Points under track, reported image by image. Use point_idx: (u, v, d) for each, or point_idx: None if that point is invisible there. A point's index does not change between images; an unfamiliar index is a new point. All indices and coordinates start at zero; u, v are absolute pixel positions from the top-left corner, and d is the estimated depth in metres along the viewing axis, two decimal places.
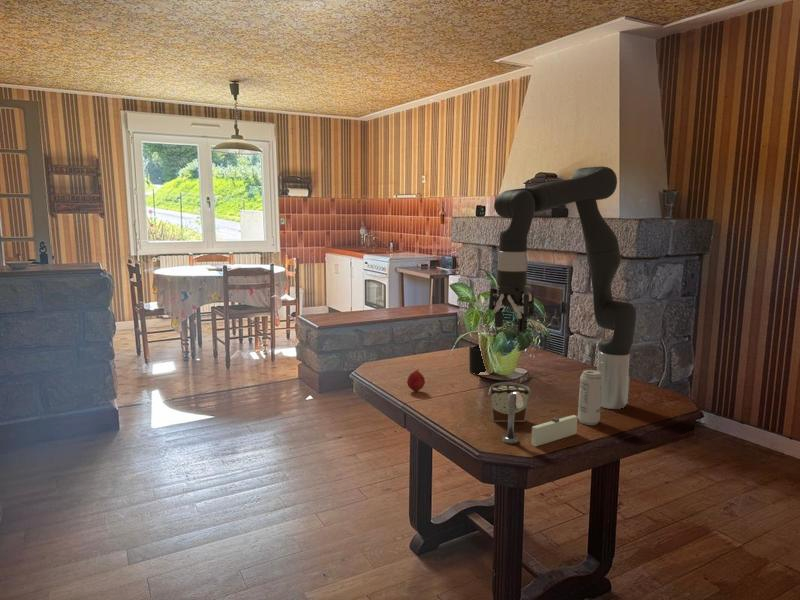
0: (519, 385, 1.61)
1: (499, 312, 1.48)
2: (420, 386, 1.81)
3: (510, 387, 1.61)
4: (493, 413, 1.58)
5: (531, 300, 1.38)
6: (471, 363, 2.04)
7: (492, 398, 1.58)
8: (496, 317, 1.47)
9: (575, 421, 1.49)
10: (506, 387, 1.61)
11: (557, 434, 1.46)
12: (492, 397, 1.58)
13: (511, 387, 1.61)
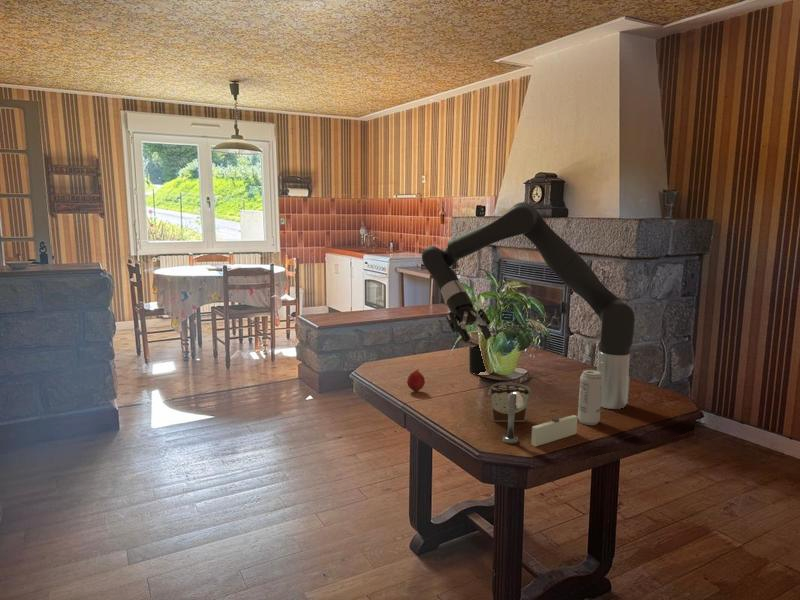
0: (519, 385, 1.61)
1: (482, 328, 1.73)
2: (420, 386, 1.81)
3: (510, 387, 1.61)
4: (493, 413, 1.58)
5: (450, 317, 1.69)
6: (471, 363, 2.04)
7: (492, 398, 1.58)
8: None
9: (575, 421, 1.49)
10: (506, 387, 1.61)
11: (557, 434, 1.46)
12: (492, 397, 1.58)
13: (511, 387, 1.61)
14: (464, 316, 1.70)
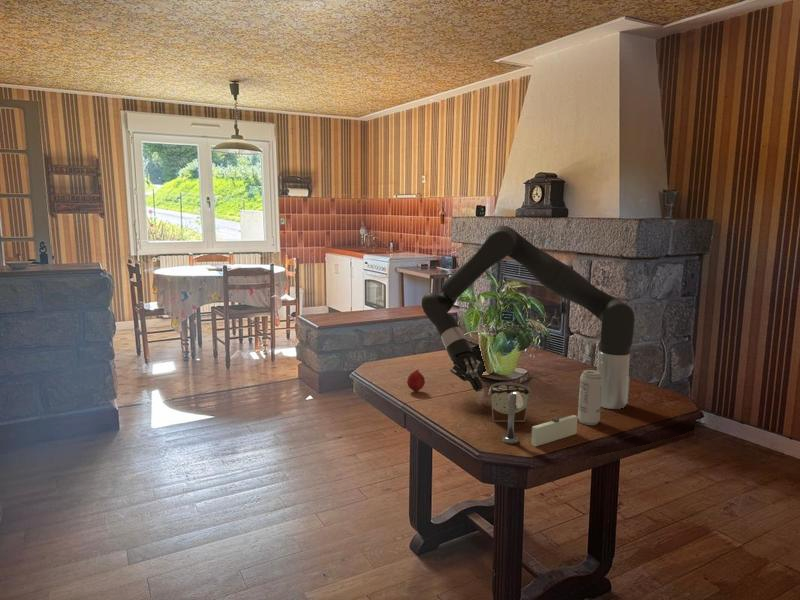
0: (519, 385, 1.61)
1: None
2: (420, 386, 1.81)
3: (510, 387, 1.61)
4: (493, 413, 1.58)
5: (456, 371, 1.72)
6: None
7: (492, 398, 1.58)
8: None
9: (575, 421, 1.49)
10: (506, 387, 1.61)
11: (557, 434, 1.46)
12: (492, 397, 1.58)
13: (511, 387, 1.61)
14: (467, 364, 1.73)
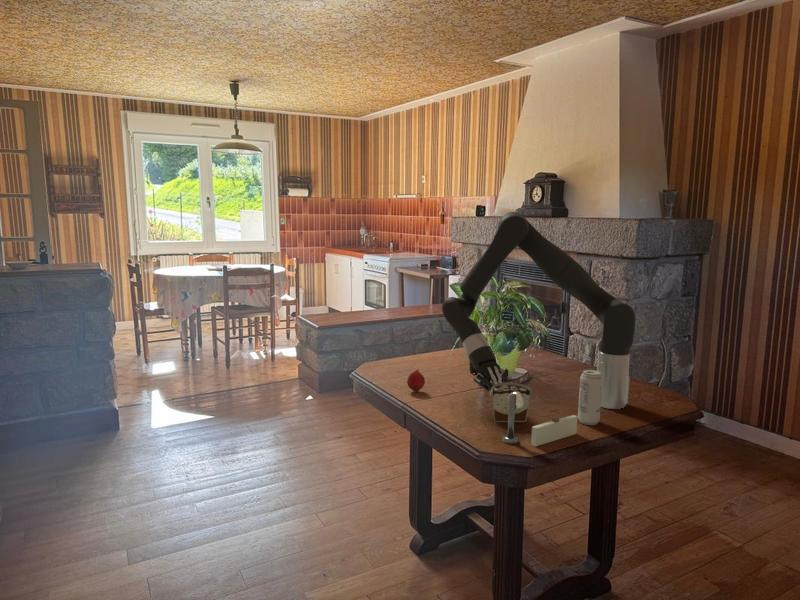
0: (520, 385, 1.60)
1: None
2: (420, 386, 1.81)
3: (511, 387, 1.60)
4: (494, 414, 1.58)
5: (480, 380, 1.63)
6: (471, 363, 2.04)
7: (493, 399, 1.57)
8: None
9: (575, 421, 1.49)
10: (507, 387, 1.60)
11: (557, 434, 1.46)
12: (493, 398, 1.57)
13: (512, 387, 1.60)
14: (491, 373, 1.64)
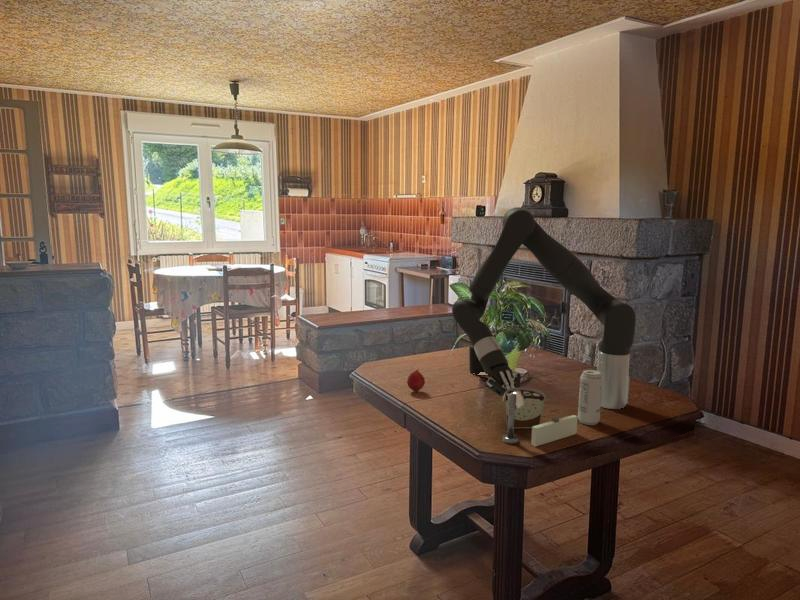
0: (534, 390, 1.56)
1: None
2: (420, 386, 1.81)
3: (524, 393, 1.55)
4: (507, 420, 1.53)
5: (492, 385, 1.58)
6: (471, 363, 2.04)
7: (506, 404, 1.52)
8: None
9: (575, 421, 1.49)
10: None
11: (557, 434, 1.46)
12: (506, 403, 1.52)
13: (526, 392, 1.55)
14: (503, 378, 1.60)
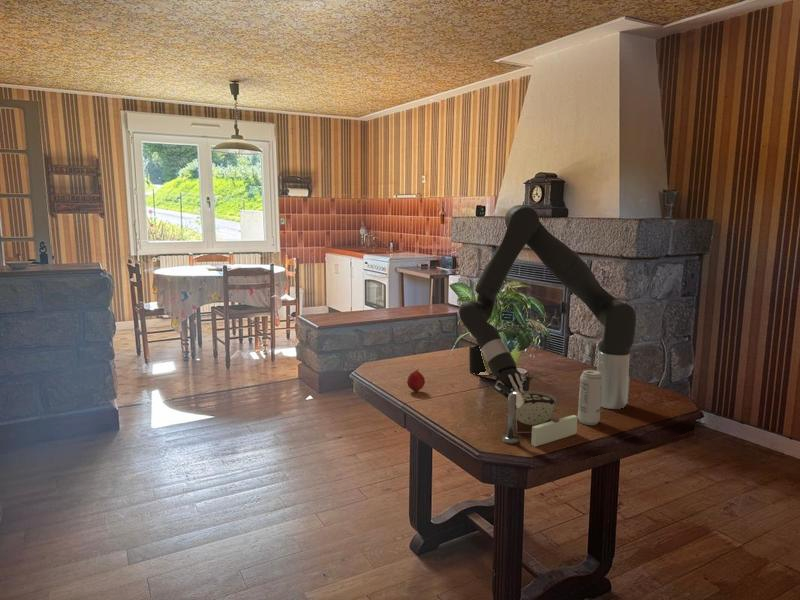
0: (543, 394, 1.53)
1: None
2: (420, 386, 1.81)
3: (534, 396, 1.52)
4: (517, 424, 1.50)
5: (500, 388, 1.55)
6: (471, 363, 2.04)
7: (516, 409, 1.49)
8: None
9: (575, 421, 1.49)
10: (530, 396, 1.52)
11: (557, 434, 1.46)
12: None
13: (535, 396, 1.52)
14: (511, 381, 1.57)
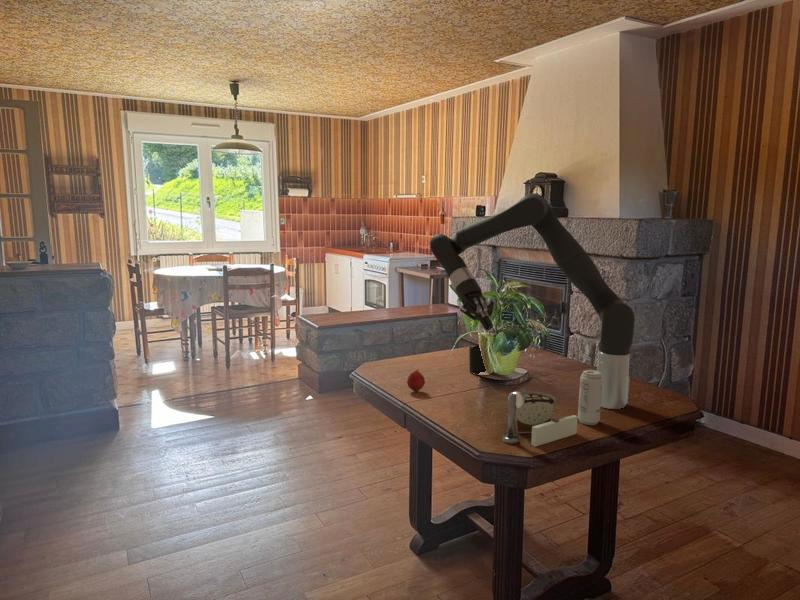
0: (542, 394, 1.54)
1: None
2: (420, 386, 1.81)
3: (533, 396, 1.53)
4: (517, 424, 1.50)
5: (466, 310, 1.68)
6: (471, 363, 2.04)
7: None
8: None
9: (575, 421, 1.49)
10: (529, 396, 1.53)
11: (557, 434, 1.46)
12: None
13: (534, 396, 1.53)
14: (476, 304, 1.70)
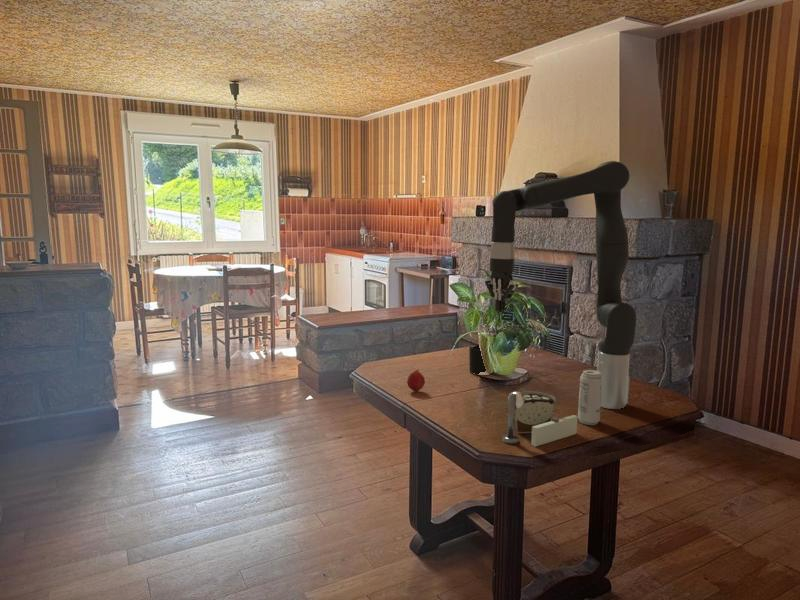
0: (542, 394, 1.54)
1: None
2: (420, 386, 1.81)
3: (533, 396, 1.53)
4: (517, 424, 1.50)
5: (514, 290, 1.67)
6: (471, 363, 2.04)
7: (516, 409, 1.49)
8: (497, 303, 1.72)
9: (575, 421, 1.49)
10: (529, 396, 1.53)
11: (557, 434, 1.46)
12: None
13: (534, 396, 1.53)
14: None
